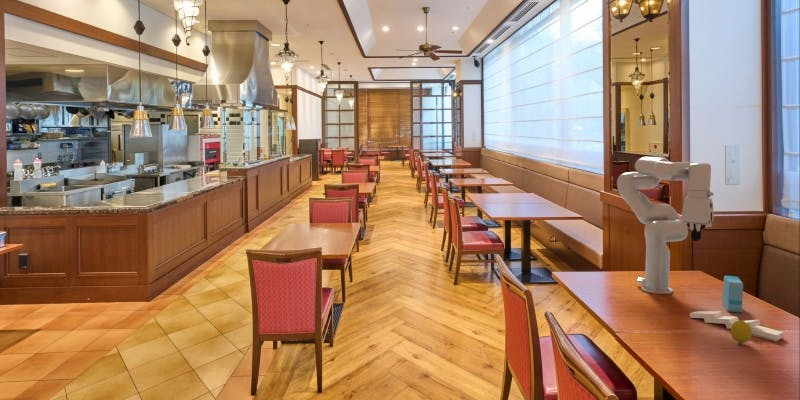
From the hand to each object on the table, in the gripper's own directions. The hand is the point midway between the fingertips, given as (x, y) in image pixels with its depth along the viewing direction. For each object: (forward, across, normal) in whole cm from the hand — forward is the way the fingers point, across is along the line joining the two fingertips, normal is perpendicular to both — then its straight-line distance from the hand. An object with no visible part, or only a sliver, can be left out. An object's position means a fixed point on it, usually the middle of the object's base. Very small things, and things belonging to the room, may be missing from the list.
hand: (695, 240), depth 192 cm
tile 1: (+26, -6, +12) cm, 29 cm away
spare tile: (+27, -24, +12) cm, 38 cm away
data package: (+27, -10, -10) cm, 31 cm away
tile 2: (+26, -11, +12) cm, 31 cm away
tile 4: (+26, -24, +13) cm, 38 cm away
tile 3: (+26, -19, +13) cm, 35 cm away
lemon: (+27, -27, +26) cm, 46 cm away
